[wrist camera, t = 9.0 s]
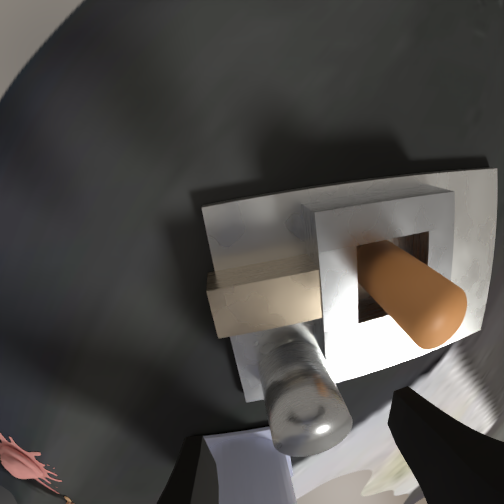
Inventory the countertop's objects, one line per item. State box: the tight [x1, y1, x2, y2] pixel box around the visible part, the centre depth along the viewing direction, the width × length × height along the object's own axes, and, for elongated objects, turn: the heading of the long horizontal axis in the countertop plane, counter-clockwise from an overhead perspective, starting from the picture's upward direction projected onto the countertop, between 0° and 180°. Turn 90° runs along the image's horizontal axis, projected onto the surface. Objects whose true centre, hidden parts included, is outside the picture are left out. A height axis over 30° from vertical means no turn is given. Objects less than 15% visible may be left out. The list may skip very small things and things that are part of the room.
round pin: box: [357, 240, 467, 350], centre depth 15 cm, size 3×3×7 cm
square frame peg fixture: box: [206, 185, 455, 360], centre depth 17 cm, size 9×14×2 cm, turn 99°
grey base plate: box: [202, 167, 497, 457], centre depth 16 cm, size 14×21×7 cm, turn 99°
